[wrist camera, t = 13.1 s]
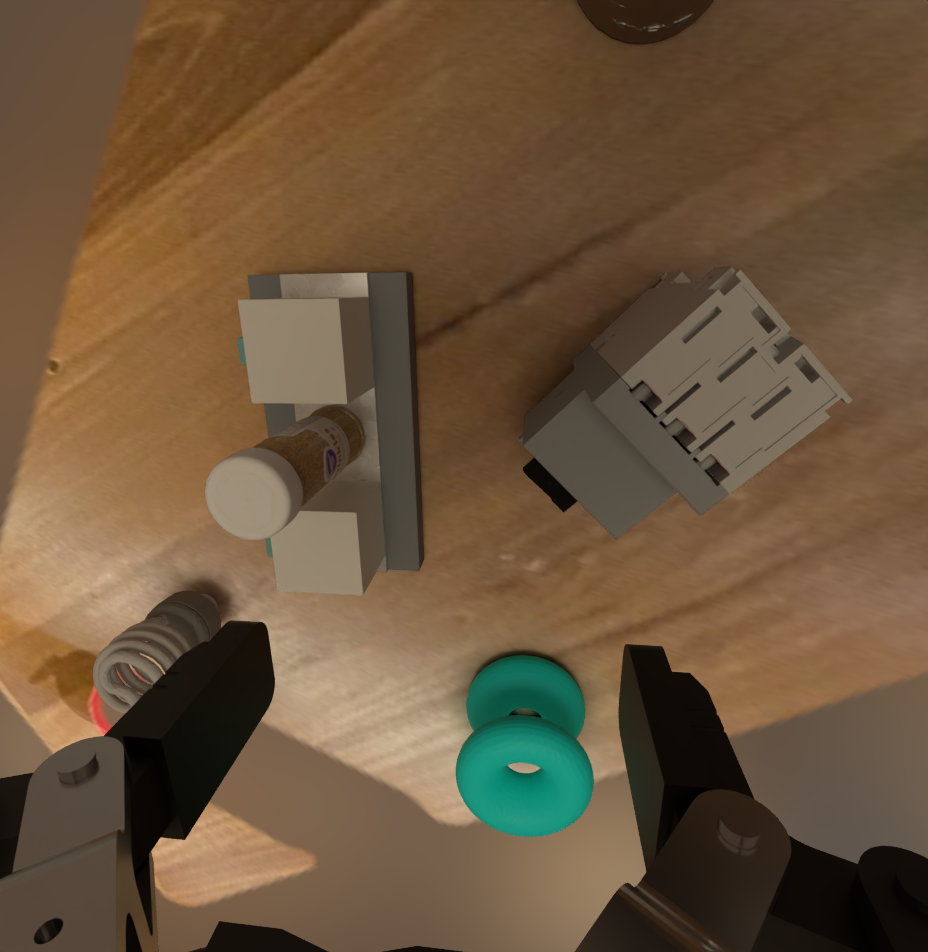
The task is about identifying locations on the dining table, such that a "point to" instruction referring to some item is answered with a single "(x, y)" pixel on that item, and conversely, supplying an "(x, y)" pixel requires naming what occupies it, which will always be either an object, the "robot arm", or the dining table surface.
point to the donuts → (525, 748)
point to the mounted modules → (317, 382)
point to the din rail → (364, 405)
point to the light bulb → (154, 646)
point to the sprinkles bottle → (282, 473)
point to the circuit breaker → (677, 402)
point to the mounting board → (383, 409)
